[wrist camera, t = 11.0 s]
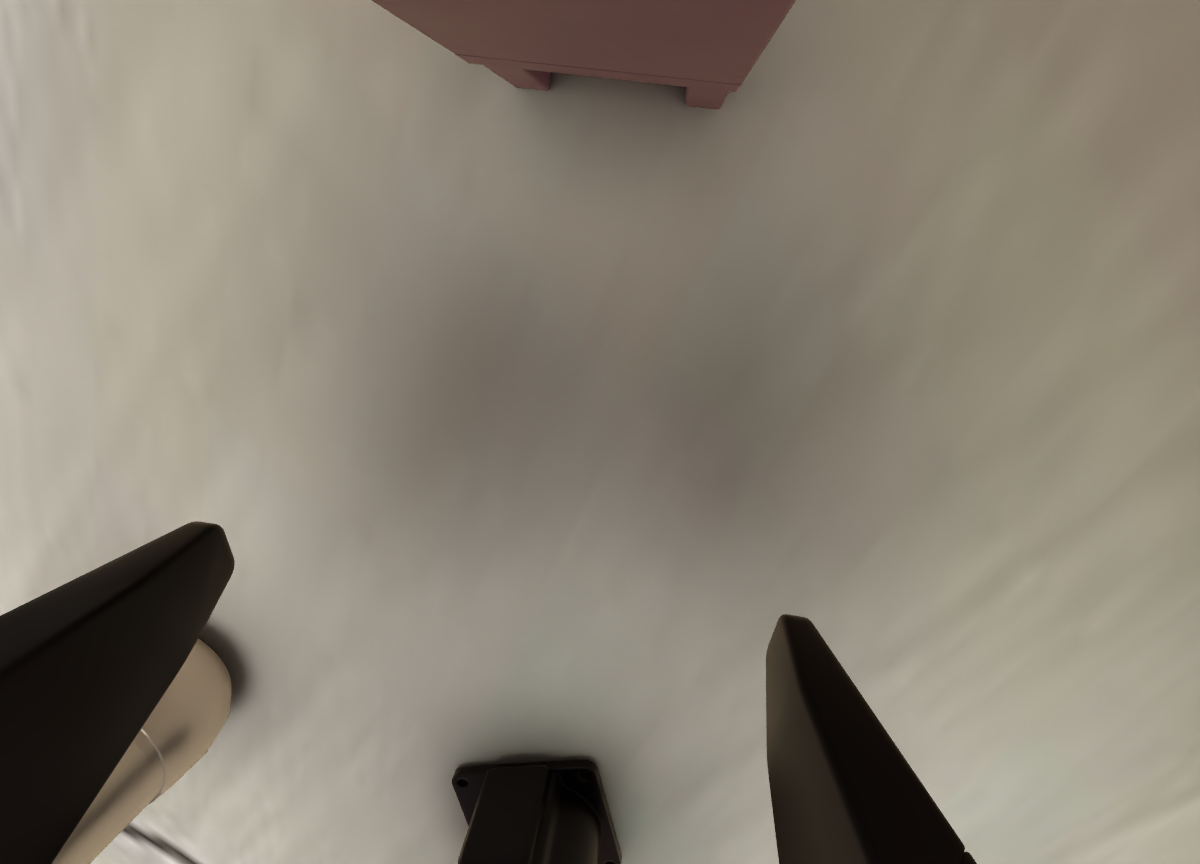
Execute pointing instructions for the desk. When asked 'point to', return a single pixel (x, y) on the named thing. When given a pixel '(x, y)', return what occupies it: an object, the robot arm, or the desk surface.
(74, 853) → the plastic bottle
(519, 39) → the chair
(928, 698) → the desk surface
